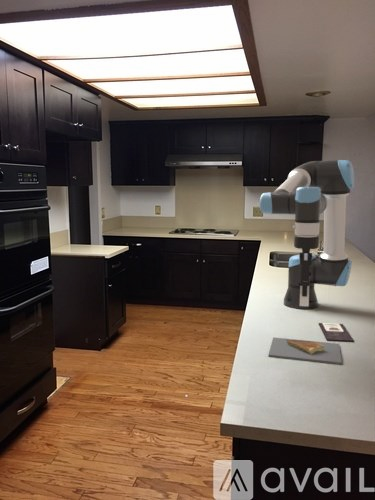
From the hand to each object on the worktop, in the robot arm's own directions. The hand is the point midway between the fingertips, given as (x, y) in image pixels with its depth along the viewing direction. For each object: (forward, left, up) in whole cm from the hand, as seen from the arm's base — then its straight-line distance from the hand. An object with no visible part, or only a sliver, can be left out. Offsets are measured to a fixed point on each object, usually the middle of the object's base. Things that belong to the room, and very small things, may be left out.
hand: (304, 300), depth 134 cm
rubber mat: (+1, +1, -17) cm, 17 cm away
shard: (+1, +1, -17) cm, 17 cm away
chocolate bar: (-20, +11, -18) cm, 29 cm away
